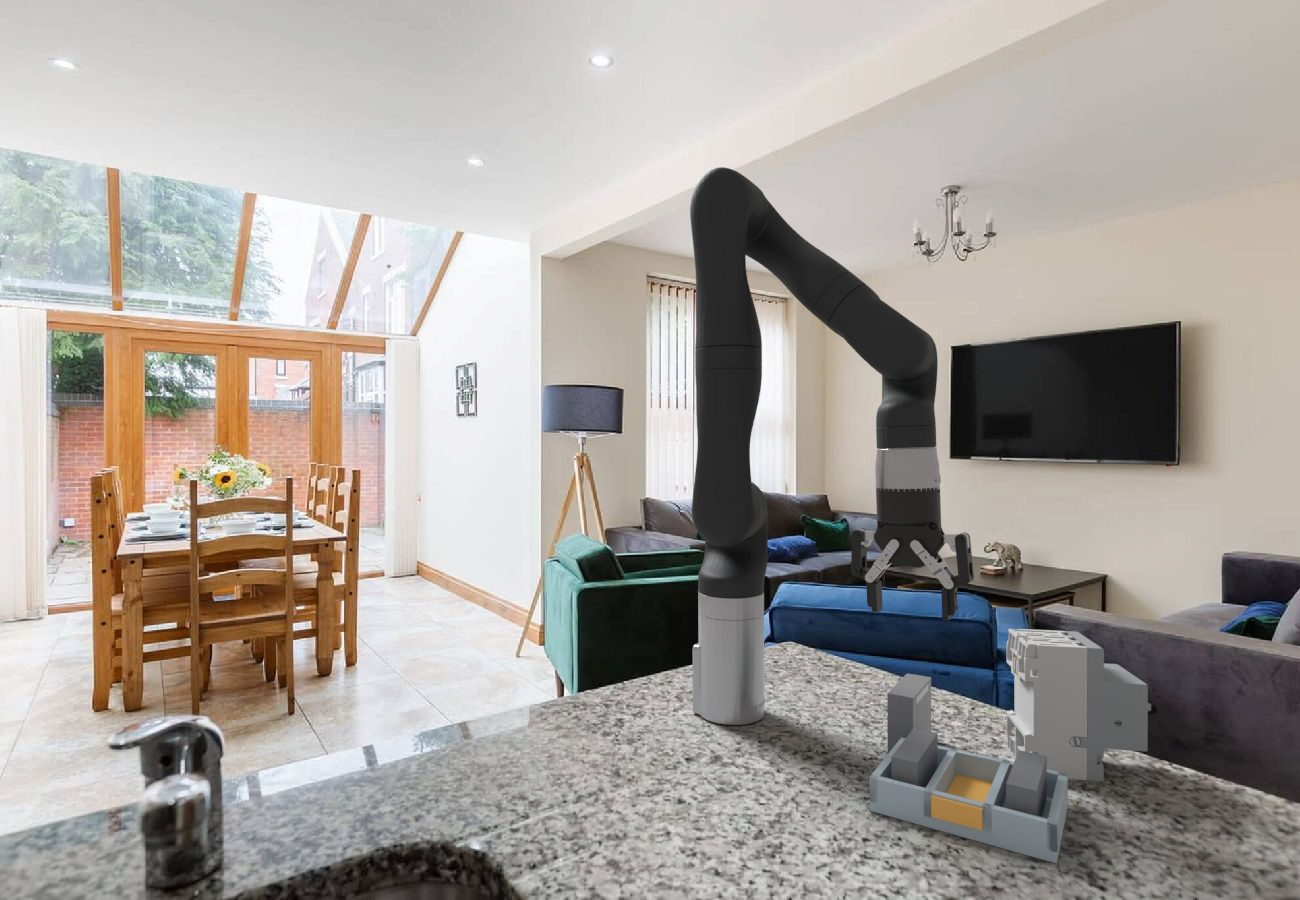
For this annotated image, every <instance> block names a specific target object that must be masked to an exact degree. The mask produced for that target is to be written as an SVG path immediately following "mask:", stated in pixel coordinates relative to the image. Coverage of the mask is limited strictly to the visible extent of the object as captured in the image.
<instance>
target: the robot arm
mask: <svg viewBox="0 0 1300 900" xmlns="http://www.w3.org/2000/svg"><path fill="white" fill-rule="evenodd" d="M689 215H690V217H689V219H690V226H691V227H690V228H691V229H690V230H691V238H692V246H693V256H694V257H693V258H694V266H695V267H694V268H695V352H694V353H695V355H694V356H695V357H694V358H695V360H694V362H695V363H694V364H695V366H694V369H695V372H694V373H695V375H694V376H695V404H696V405H695V409H696V413H695V414H696V429H697V431H696V433H697V449H696V452H697V453H696V464H695V473H694V482H693V493H692V500H691V501H692V502H691V516H692V521H693V522H692V523H693V525H694V527H695V530H696V531H697V533H698V534H699V536H700V537H701V538H702V539H703V540H704V543H705V544H704V557H703V561H702V564H701V567H700V570H699V572H698V578H697V579H698V580H697V581H698V582H697V583H698V584H697V593H698V595H697V599H698V601H697V603H698V605H697V607H698V609H697V610H698V613H697V614H698V620H697V621H698V626H697V627H698V630H697V631H698V632H697V633H698V635H697V636H698V642H697V643H695V644H694V645H692V713H694V714H698V715H699V716H701V718H703V719H704V720H706V721H708V722H712V723H715V724H721V725H731V726H740V725H741V726H742V725H748V724H753V723H756V722H759V721H760V720H762V718H763V717H764V716H765V578H766V572H767V568H768V567H767V566H768V549H769V548H768V545H769V543H768V540H769V538H768V537H769V536H768V534H769V511H768V504H767V500H766V497H765V495H764V493H763V491H762V490H761V488H760V487H759V486H758V485H757V484H756V483H754V482H752V476H751V475H752V474H751V473H752V472H751V438H752V432H753V427H754V423H755V419H756V415H757V410H758V405H759V401H760V395H761V387H762V378H763V344H762V343H763V342H762V341H763V340H762V333H761V327H760V322H759V320H758V319H759V318H758V314H757V309H756V306H755V303H754V299H753V296H752V292H751V290H750V285H749V281H748V274H747V265H746V263H747V262H746V257H749V258H750V259H752V260H753V261H755V262H757V263H758V264H760V265H762V267H764V268H765V269H767V270H768V271H769V272H771V273H772V274H773V275H774V276H775V277H776V278H777V279H778V280H779V281H780V282H781V283H782V284H783V286H785V287H786V289H787V290H788V291H789V292H790V293H791V294H792V295H793V297H795V298H796V300H797V301H799V303H800V304H801V305H802V306H803V307H805V308H806V309H807V311H809V312H810V314H812V315H813V316H814V317H816V318H817V319H818V320H819V321H820V322H822V324H824V325H825V326H826V327H827V328H828V329H830V330H831V331H833V332H834V333H835V334H836V335H838V336H839V337H841V338H842V339H844V341H845V342H846V343H847V344H848V345H849V346H850V348H852V349H853V350H854V352H856V354H857V355H859V356H860V357H861V359H863V360H864V361H865V362H866V363H867V364H868V365H869V366H870V367H871V368H873V369H874V370H875V371H876V372H878V373H879V374H880V375H881V382H882V383H881V404H880V405H879V406H878V408H877V411H876V415H875V416H876V417H875V419H876V420H875V430H876V431H875V432H876V436H875V437H876V457H875V470H874V472H875V474H874V475H875V498H876V499H875V500H876V503H875V504H876V522H877V523H876V524H877V525H876V529H875V530H874V531H873V530H867V529H865V528H863V527H861V528H859V529H855V530H853V531H852V533H851V553H850V554H851V557H850V564H851V565H850V574H851V575H852V576H853V577H858V578H860V579H863V580H864V581H865V586H866V604H867V606H868V608H871V612H872V613H880V612H881V611H883V586H882V585H883V581H882V580H880V578H881V577H882V575H883V574H884V573H885V572H886V570H887V569H888V568H889V567H890V566H891V565H894V567H907V566H909V567H912V568H917V569H918V568H920V569H921V568H923V567H926V568H927V569H928V570H929V572H930V573H931V574H932V575H934V576H935V577H936V579H937V580H938V581H939V582H940V584H941V585H942V586H943V587H942V588H941V589H940V590H941V591H940V592H941V617H942V620H944V621H950V620H951V619H953V617H954V616H955V615H956V614H957V612H958V607H959V606H958V589H959V587H962V586H967V585H969V584H970V583H972V581H974V579H975V576H974V575H975V574H974V564H973V555H972V554H973V553H972V544H971V536H970V534H969V533H968V532H966V531H965V532H960V533H952V534H951V533H950V534H945V532H944V531H943V528H942V512H941V511H942V508H941V505H942V504H941V481H942V480H941V479H942V478H941V474H940V472H941V471H940V463H939V457H938V449H937V423H936V415H935V413H936V411H935V402H936V395H937V394H936V392H937V385H938V384H937V380H938V361H939V360H938V351H937V347H936V343H935V341H934V339H933V337H932V336H931V335H930V334H929V333H928V332H927V331H925V330H924V329H923V328H921V327H920V326H918V325H917V324H915V323H914V322H913V321H911V320H910V319H908V318H907V317H905V316H904V315H903V314H902V313H900V312H899V311H897V310H896V309H895V308H893V307H892V306H890V305H889V304H888V303H886V302H885V301H884V300H882V299H881V298H880V296H879V295H878V294H877V293H876V292H875V290H873V289H872V287H870V286H869V285H867V284H866V283H865V282H864V281H862V280H861V279H860V278H859V277H858V276H857V275H855V274H854V273H853V272H852V271H850V270H849V269H848V268H846V267H845V266H844V265H842V264H841V263H839V262H838V261H837V260H835V259H834V258H832V257H831V256H830V255H828V254H827V253H825V252H824V251H822V250H821V249H819V248H817V247H816V246H815V245H813V244H812V243H810V242H809V241H808V240H806V239H805V238H804V237H803V236H802V235H800V233H798V232H797V231H796V230H795V229H794V228H793V227H792V226H791V225H790V224H789V223H788V222H787V221H786V220H785V219H784V218H783V216H782V215H781V214H780V213H779V212H778V211H777V210H776V208H775V207H774V205H773V204H772V203H771V202H770V201H769V200H768V198H767V197H766V196H765V194H764V192H763V191H762V189H760V187H759V186H758V185H756V184H755V183H754V182H752V181H751V180H750V179H749V178H747V177H746V176H745V175H743V174H741V173H740V172H739V171H737V170H734V169H732V168H729V167H723V166H722V167H721V166H720V167H715V168H713V169H710V170H709V171H707V172H706V173H705V174H704V175H703V176H702V177H701V178H700V179H699V180H698V182H697V183H696V185H695V187H694V188H693V192H692V195H691V199H690V207H689ZM873 540H874V542H875V543H876V544H877V547H878V548H879V549H880V551H881V553H880V554H879V556H878V557H877V558H876V559H875V561H874V562H873V564H872V566H871V567H868V566H867V561H868V547H870V546H871V545H872V542H873ZM945 544H947V545H948V546H949V548H950V550H951V551H952V552H953V553H955V555H956V556H955V557H956V565H957V566H956V567H957V574H954V572H953V571H952V569H951V568H949V566H948V563H947V561H946V560H945V559H944V558H943V557H942V555H941V553H939V552H940V550H941V549H942V548H943V547H944V546H945Z"/></svg>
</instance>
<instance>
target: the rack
mask: <svg viewBox="0 0 1300 900" xmlns="http://www.w3.org/2000/svg"><path fill="white" fill-rule="evenodd" d="M938 738H939V737H938V732H935V731H934V732H933V731H931V732H930V731H925V730H920V729H915V728H913V730H912V731H911V732H910V733H909V735H908V736H907V737H906V738H902V737H901V738H900V740H899V741H898V742H897V743H896V745H895V746H894V747H893V748H892V750H891V751H890V752H889V753H888V752H887V755H885V757H884V758H883V759H882V761H880V763H879V765H878V766H877V767H876V768H875V770H874V771H873V772H872V773H871V775H870V776H869V779H868V780H869V785H868V786H869V790H868V791H869V795H868V796H869V803H868V804H869V811H870V812H872V813H875V814H880V815H884V816H887V817H889V818H894V819H897V820H901V821H905V822H907V823H912V824H915V825H918V826H922V827H926V828H929V829H932V830H936V831H939V832H943V833H947V834H950V835H955V836H957V837H960V838H965V839H968V840H972V841H975V842H979V843H982V844H987V845H989V846H993V847H996V848H1000V849H1004V850H1007V851H1010V852H1015V853H1018V854H1020V855H1021V854H1022V855H1025V856H1028V857H1032V858H1035V859H1039V860H1043V861H1047V862H1050V863H1053V864H1056V865H1057V864H1058V860H1059V856H1060V855H1059V854H1060V851H1061V850H1060V849H1061V845H1062V840H1063V835H1064V828H1065V824H1066V823H1065V822H1066V819H1067V813H1068V809H1069V805H1068V804H1069V803H1068V802H1069V792H1068V791H1069V787H1068V786H1069V779H1068V774H1067V773H1062V772H1057V771H1053V770H1048V769H1047V756H1044V755H1039V754H1034V753H1029V752H1025V751H1020V750H1019V751H1018V754H1017V756H1016V759H1015V760H1014V761H1011V760H1006V759H1002V758H999V757H993V756H990V755H989V756H988V755H984V754H979V753H974V752H971V751H965V750H961V749H957V748H951V747H946V746H942V745H939V744H938Z"/></svg>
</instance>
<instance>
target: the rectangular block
mask: <svg viewBox="0 0 1300 900" xmlns="http://www.w3.org/2000/svg"><path fill="white" fill-rule="evenodd" d="M886 699H887V709H886V710H887V715H886V716H887V754H888V753H889V752H890V751H891V750H892V748H893V747H894V746H895V745H896V743H897V742H898V741H899V740H900V738H901V737H902V738H906V737H907V736H908V735H909V733H910V732H911V731H912V730H913V728H915V729H920V730H925V731H930V732H932V677H931V676H925V675H920V674H913V673H912V674H911V673H906V674H905V675H904V676H903V677H902V678H901V679H900V680H899V681H898V682H897V683H896V684H895V685H894V686H893V687H892V688H890V690H889V691H888V692H887V698H886Z"/></svg>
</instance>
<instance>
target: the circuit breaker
mask: <svg viewBox="0 0 1300 900" xmlns="http://www.w3.org/2000/svg"><path fill="white" fill-rule="evenodd" d="M1007 632H1008V638H1007V639H1008V640H1007V641H1006V657H1005V658H1006V663H1007V664H1008V666H1009V667H1010V673H1011V674H1012V675H1013V676H1014V677H1013V679H1014V680H1013V681H1014V683H1013V685H1014V693H1013V695H1014V698H1013V699H1014V700H1013V701H1014V703H1013V705H1014V710H1013V709H1010V710H1006V711H1005V712H1006V715H1005V716H1006V722H1005V723H1006V727H1005V728H1006V729H1005V730H1006V739H1007V740H1006V750H1007V751H1008V753H1009V755H1010V756H1011V757H1012V758H1013V760H1014V761H1015V759H1016V756H1017V754H1018V751H1019V750H1020V751H1025V752H1029V753H1034V754H1039V755H1044V756H1047V769H1048V770H1053V771H1057V772H1062V773H1067V774H1068V780H1077V781H1091V782H1105V781H1104V778H1105V777H1104V776H1105V775H1104V773H1105V771H1104V770H1105V769H1104V764H1103V759H1104V753H1105V752H1104V751H1105V750H1116V751H1117V750H1118V751H1119V750H1121V751H1132V752H1146V753H1147V752H1148V746H1149V745H1148V741H1149V740H1148V739H1149V737H1148V735H1149V734H1148V733H1149V732H1148V730H1149V729H1148V728H1149V724H1148V722H1149V721H1148V719H1149V718H1148V717H1149V715H1157V714H1158V707H1157V705H1156V704H1155V703H1153V702H1152V701H1150V700H1149V698H1148V697H1149V694H1148V693H1149V686H1148V684H1147V683H1146V682H1145V681H1142V680H1141V679H1140V678H1139V677H1137V676H1135V675H1134V674H1133V673H1131V672H1129V671H1128V670H1127V669H1125V668H1124V667H1122V666H1121V665H1119V664H1117V663H1105V649H1104V648H1102V647H1101V646H1100V645H1098V644H1097V643H1095V642H1094V641H1092V640H1091V639H1089V638H1088V637H1086V636H1085V635H1084V634H1082V633H1081V632H1079V631H1074V630H1071V631H1070V630H1056V629H1055V630H1051V629H1031V628H1030V629H1028V628H1017V629H1012V628H1008V631H1007ZM1012 728H1014V732H1012Z"/></svg>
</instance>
